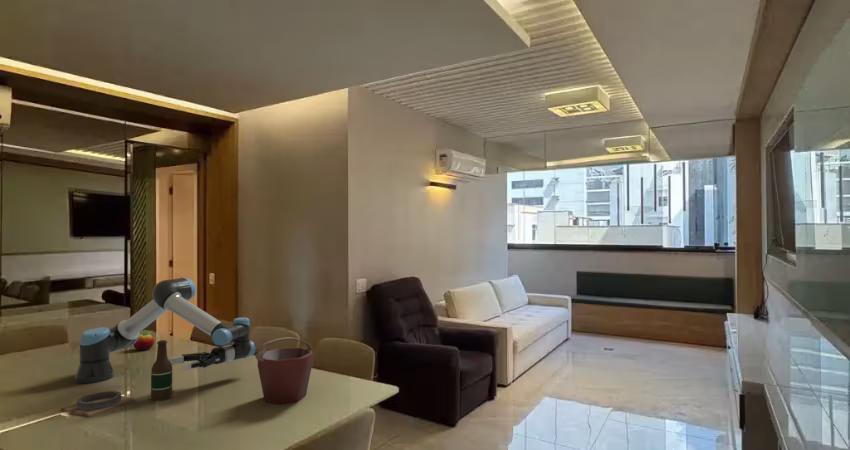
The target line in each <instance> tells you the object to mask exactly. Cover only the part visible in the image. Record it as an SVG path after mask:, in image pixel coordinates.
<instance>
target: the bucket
mask: <svg viewBox="0 0 850 450" xmlns="http://www.w3.org/2000/svg"><path fill="white" fill-rule="evenodd" d="M287 340H294V341H298V342H301V343H304V345H305V346H306V347H307V348H305V347H300V346H299V347H277V348H274V349H269V350H268V349H267V347H268V346H270V345H272V344H274V343H277V342H280V341H287ZM312 350H313V347H312V345H311V344H310V343H309V342H308V341H304V340H302V339H300V338H296V337H293V336H286V337H278V338H275V339H271V340H267V341H266V342H263V343H262V344H261V347H260V350H259V351H258V352H257V353H256V354H255V355H254V356H255V359H256V360H257V369H258V376H259V379H260V386H261V390H262V394H263V400H264V403H266V404H271V405H277V406H281V405H282V406H283V405H287V404H294V403H298V402H299V401H301V400H302V399H304V398H305V397H306V396H307V394H308V393H307V392H308V387H309V381H310V376H311V371H312V368H313V367H312V366H313V362H314V351H312Z"/></svg>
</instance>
